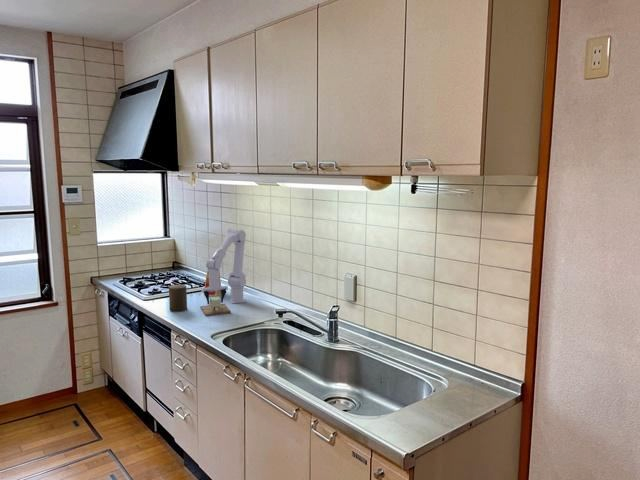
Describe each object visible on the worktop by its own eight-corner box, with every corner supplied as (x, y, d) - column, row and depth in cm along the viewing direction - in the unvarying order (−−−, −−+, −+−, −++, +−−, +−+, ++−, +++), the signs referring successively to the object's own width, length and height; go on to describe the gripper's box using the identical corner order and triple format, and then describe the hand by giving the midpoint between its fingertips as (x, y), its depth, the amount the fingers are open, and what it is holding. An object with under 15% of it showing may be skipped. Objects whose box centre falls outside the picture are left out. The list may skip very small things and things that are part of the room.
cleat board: (200, 308, 280) (200, 303, 280) (224, 305, 285) (224, 301, 285) (205, 316, 265) (205, 311, 265) (230, 313, 271) (230, 308, 270)
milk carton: (204, 295, 306) (203, 264, 303) (210, 291, 315) (209, 261, 312) (218, 296, 305) (217, 265, 302) (223, 292, 314) (222, 262, 311)
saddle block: (209, 307, 277) (209, 297, 276) (218, 306, 279) (218, 296, 278) (211, 310, 271) (211, 300, 270) (220, 309, 273) (220, 299, 272)
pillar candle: (180, 312, 271) (179, 286, 269) (166, 310, 275) (165, 285, 272) (190, 308, 281) (189, 282, 278) (176, 306, 284) (175, 281, 282)
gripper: (202, 282, 266) (203, 306, 268) (228, 280, 272) (229, 303, 274) (200, 280, 273) (201, 303, 275) (226, 277, 278) (226, 300, 280)
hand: (215, 303), depth 275 cm, fingers open, 7 cm apart
